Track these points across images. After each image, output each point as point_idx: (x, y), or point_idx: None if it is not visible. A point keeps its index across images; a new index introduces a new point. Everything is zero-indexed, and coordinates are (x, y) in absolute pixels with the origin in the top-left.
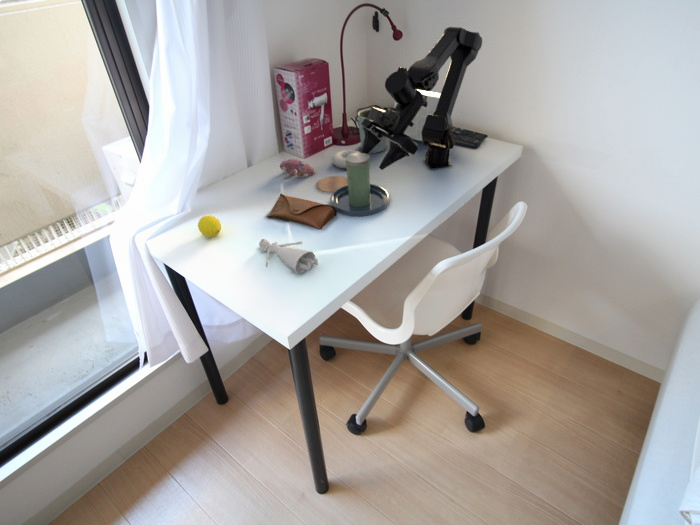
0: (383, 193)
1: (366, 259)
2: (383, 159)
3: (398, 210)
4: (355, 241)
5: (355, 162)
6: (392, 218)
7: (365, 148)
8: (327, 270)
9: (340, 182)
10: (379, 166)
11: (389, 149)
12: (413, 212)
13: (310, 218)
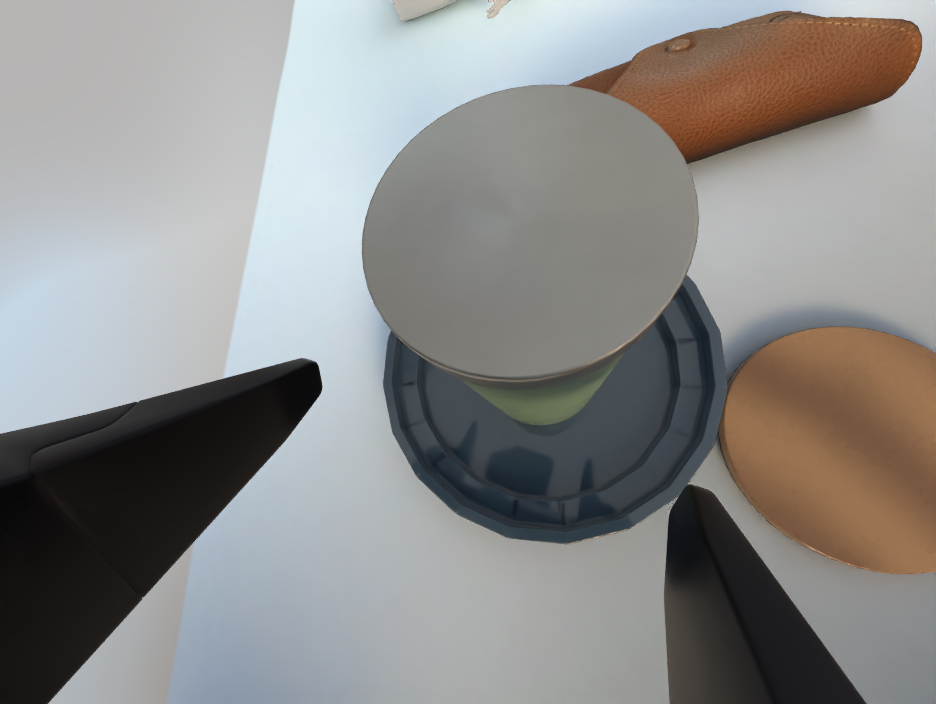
0: (468, 494)
1: (297, 137)
2: (226, 396)
3: (347, 425)
4: (372, 167)
5: (440, 119)
6: (338, 356)
7: (720, 629)
8: (359, 44)
9: (837, 483)
10: (304, 361)
11: (10, 475)
12: (287, 449)
13: (577, 84)
